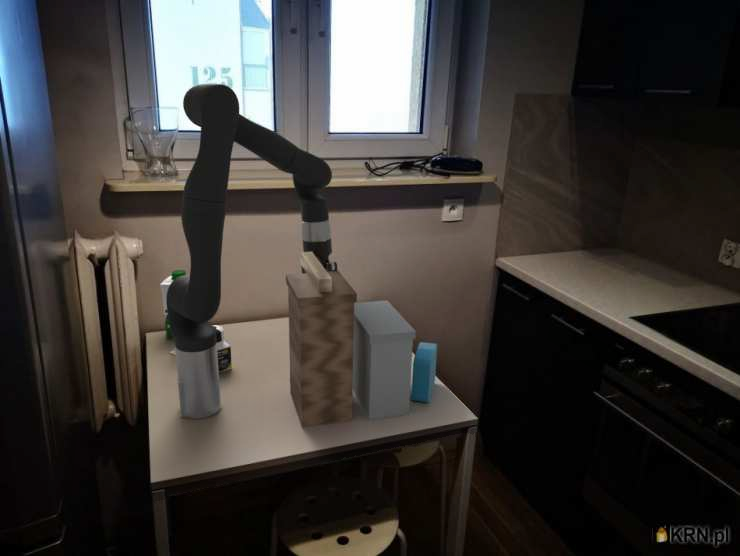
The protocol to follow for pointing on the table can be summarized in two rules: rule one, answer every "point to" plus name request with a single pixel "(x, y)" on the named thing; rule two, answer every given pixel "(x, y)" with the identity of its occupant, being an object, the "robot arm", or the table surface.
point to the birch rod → (316, 272)
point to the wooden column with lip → (321, 349)
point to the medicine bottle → (222, 350)
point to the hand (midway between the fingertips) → (321, 295)
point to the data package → (424, 372)
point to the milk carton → (164, 289)
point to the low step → (382, 359)
